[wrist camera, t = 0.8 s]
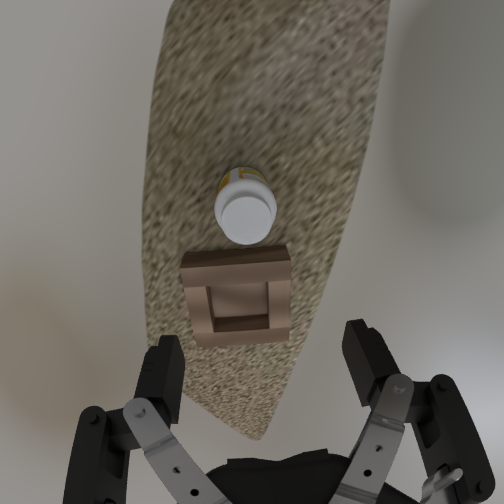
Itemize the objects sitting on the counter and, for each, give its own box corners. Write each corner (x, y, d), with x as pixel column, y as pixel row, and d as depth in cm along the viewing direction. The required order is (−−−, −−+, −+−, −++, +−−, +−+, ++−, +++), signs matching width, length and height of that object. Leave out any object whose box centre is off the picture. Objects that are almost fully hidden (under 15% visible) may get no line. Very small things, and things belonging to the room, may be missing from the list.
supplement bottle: (229, 220, 32) (227, 262, 23) (210, 176, 30) (200, 202, 21) (274, 204, 31) (290, 240, 23) (258, 158, 29) (268, 177, 20)
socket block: (184, 253, 33) (179, 268, 30) (285, 245, 34) (290, 260, 30) (199, 329, 39) (197, 347, 36) (285, 323, 39) (289, 340, 36)
